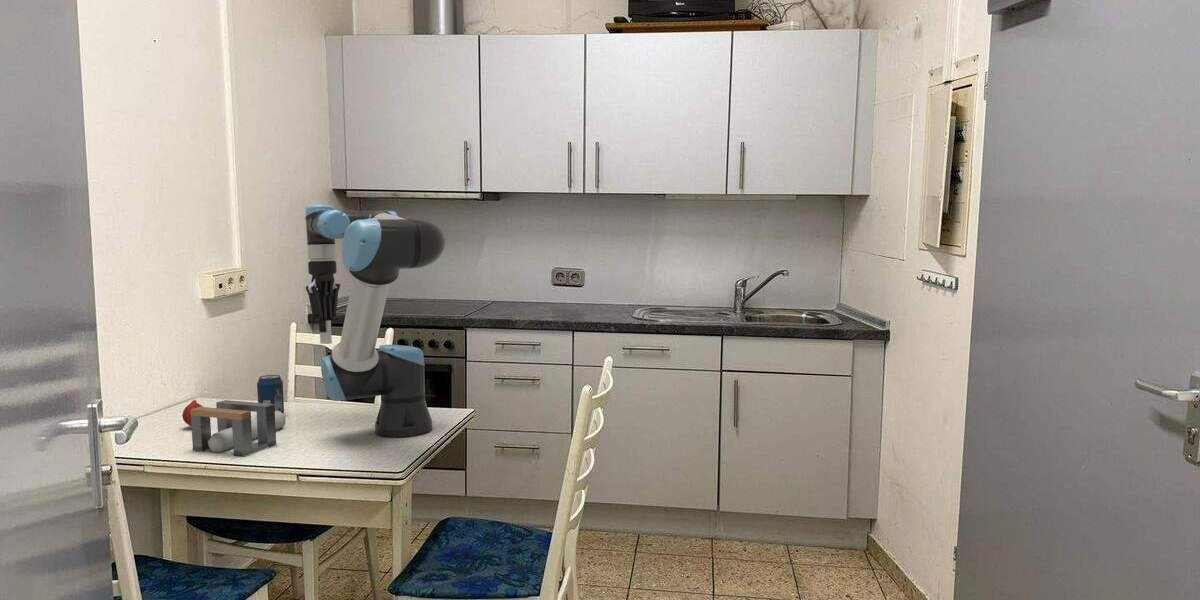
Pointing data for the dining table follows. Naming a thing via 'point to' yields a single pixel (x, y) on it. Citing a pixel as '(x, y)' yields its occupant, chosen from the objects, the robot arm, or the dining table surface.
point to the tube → (225, 437)
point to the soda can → (271, 391)
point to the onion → (189, 412)
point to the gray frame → (235, 425)
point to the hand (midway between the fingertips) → (326, 343)
